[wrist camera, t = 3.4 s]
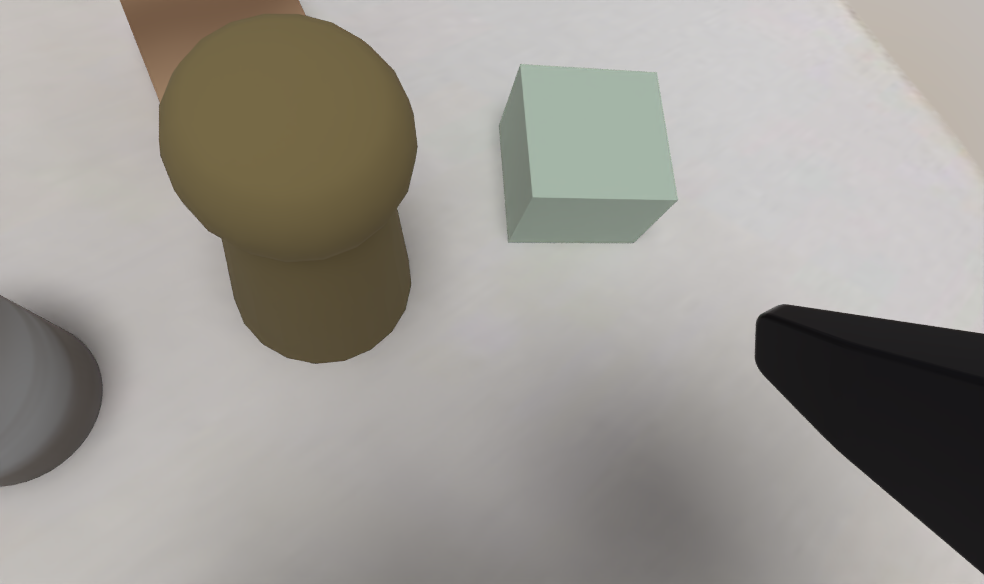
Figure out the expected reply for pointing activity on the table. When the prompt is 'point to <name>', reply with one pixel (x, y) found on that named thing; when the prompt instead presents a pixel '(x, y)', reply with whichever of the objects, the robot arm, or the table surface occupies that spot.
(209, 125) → the olive pawn
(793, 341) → the robot arm
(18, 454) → the grey short cylinder
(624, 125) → the sage block
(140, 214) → the table surface
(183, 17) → the walnut block
